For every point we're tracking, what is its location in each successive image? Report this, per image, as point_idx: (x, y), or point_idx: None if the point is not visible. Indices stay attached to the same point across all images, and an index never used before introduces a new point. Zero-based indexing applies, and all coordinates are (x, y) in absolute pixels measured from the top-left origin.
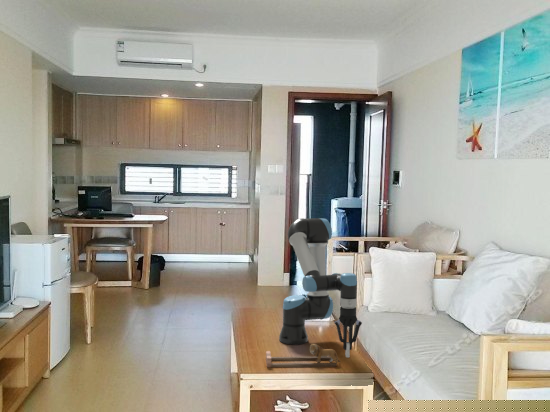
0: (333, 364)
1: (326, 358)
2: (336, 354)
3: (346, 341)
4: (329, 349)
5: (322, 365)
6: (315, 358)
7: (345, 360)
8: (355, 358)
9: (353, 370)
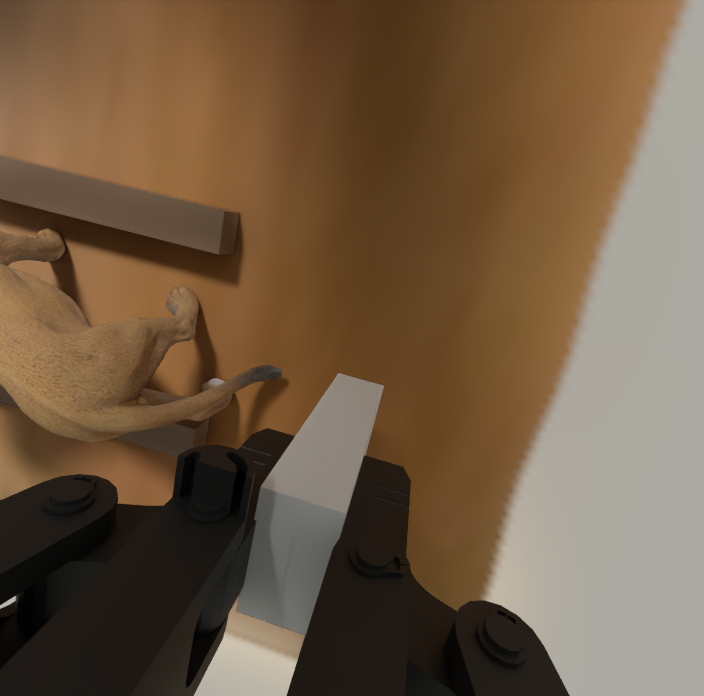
0: (165, 448)
1: (143, 233)
2: (166, 424)
3: (206, 655)
4: (13, 393)
5: None
6: (17, 201)
7: (379, 306)
8: (551, 270)
9: None
